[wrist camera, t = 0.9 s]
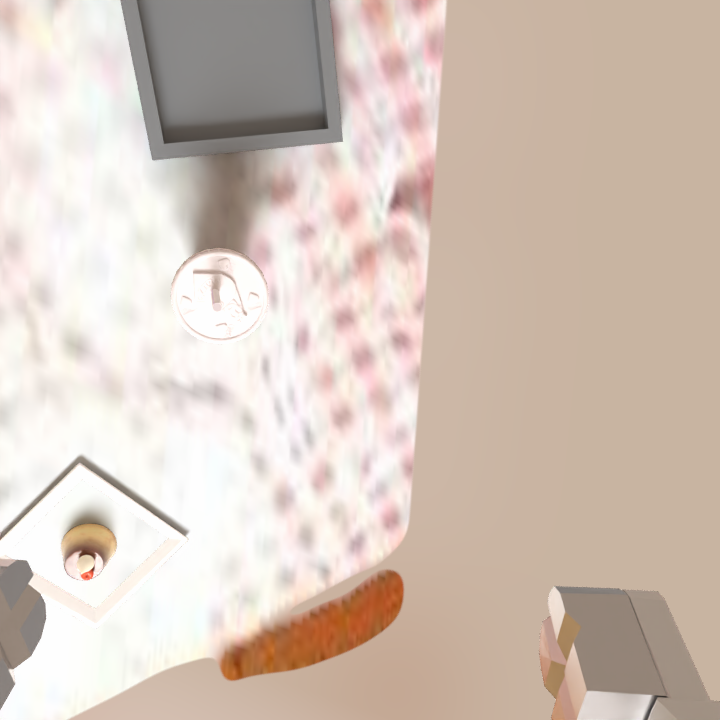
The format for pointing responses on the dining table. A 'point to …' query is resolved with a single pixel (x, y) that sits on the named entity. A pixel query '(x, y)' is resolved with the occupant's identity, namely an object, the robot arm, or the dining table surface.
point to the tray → (233, 74)
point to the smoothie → (219, 295)
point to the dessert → (92, 548)
